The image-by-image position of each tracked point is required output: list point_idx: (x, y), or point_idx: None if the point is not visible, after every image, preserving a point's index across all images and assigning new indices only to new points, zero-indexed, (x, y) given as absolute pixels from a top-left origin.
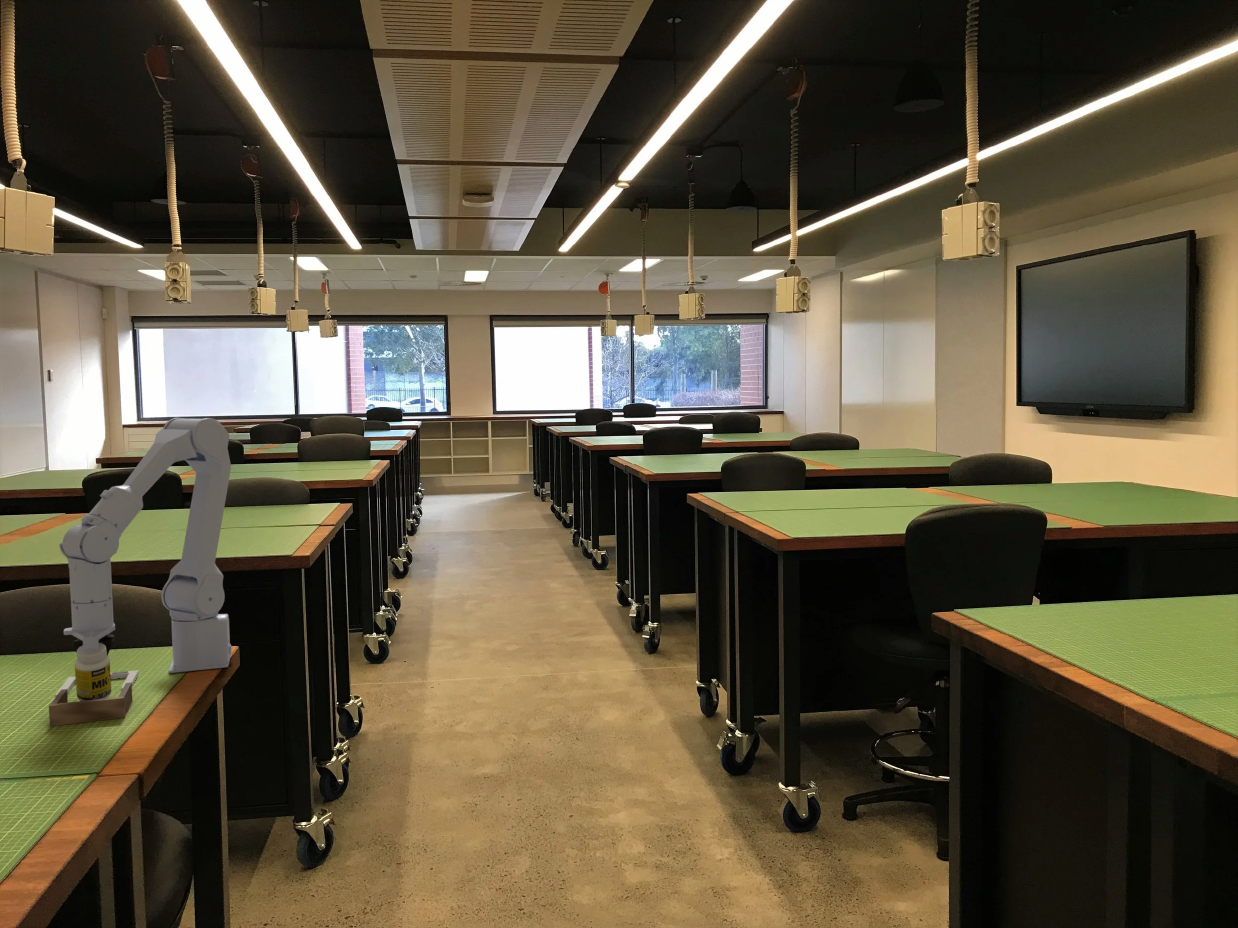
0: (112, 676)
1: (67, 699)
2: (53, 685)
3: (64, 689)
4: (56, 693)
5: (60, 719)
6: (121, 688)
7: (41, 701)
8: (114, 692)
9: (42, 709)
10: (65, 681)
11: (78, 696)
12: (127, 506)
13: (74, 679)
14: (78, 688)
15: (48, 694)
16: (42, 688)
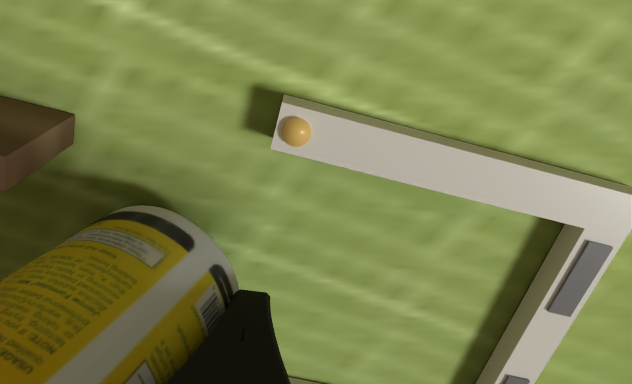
0: (493, 368)
1: (42, 161)
2: (627, 104)
3: (4, 176)
4: (315, 111)
5: None
6: None
7: (305, 16)
8: None
9: (116, 11)
10: (558, 176)
11: (109, 216)
12: None
13: (563, 221)
14: (57, 246)
15: (439, 65)
16: (614, 39)
